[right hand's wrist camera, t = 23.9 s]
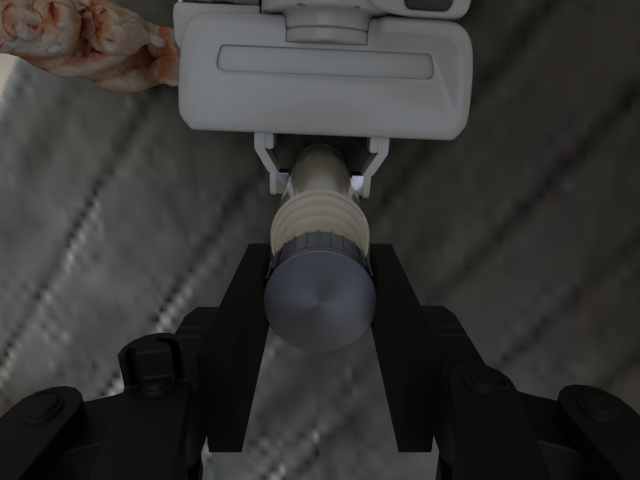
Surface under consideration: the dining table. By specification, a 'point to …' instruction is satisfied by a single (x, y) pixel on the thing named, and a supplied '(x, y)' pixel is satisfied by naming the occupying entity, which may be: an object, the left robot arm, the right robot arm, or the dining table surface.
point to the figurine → (90, 42)
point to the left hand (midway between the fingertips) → (320, 194)
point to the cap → (320, 292)
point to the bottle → (320, 200)
